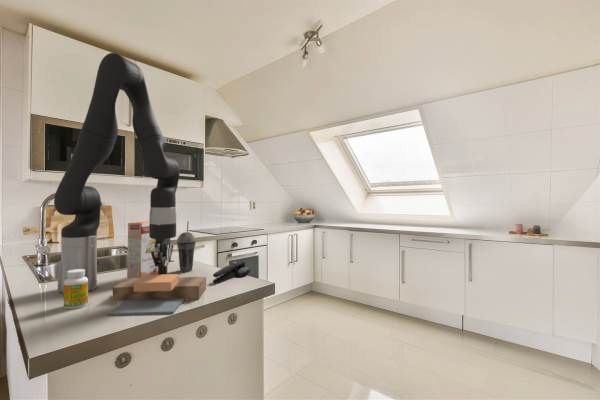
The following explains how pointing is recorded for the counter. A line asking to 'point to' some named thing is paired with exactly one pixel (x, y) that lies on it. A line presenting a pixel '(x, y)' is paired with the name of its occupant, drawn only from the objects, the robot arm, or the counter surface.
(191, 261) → the beverage cup
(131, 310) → the slate mat
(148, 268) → the cracker box
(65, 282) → the supplement bottle
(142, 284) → the terracotta tile
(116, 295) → the panel
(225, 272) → the can opener
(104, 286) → the counter surface
